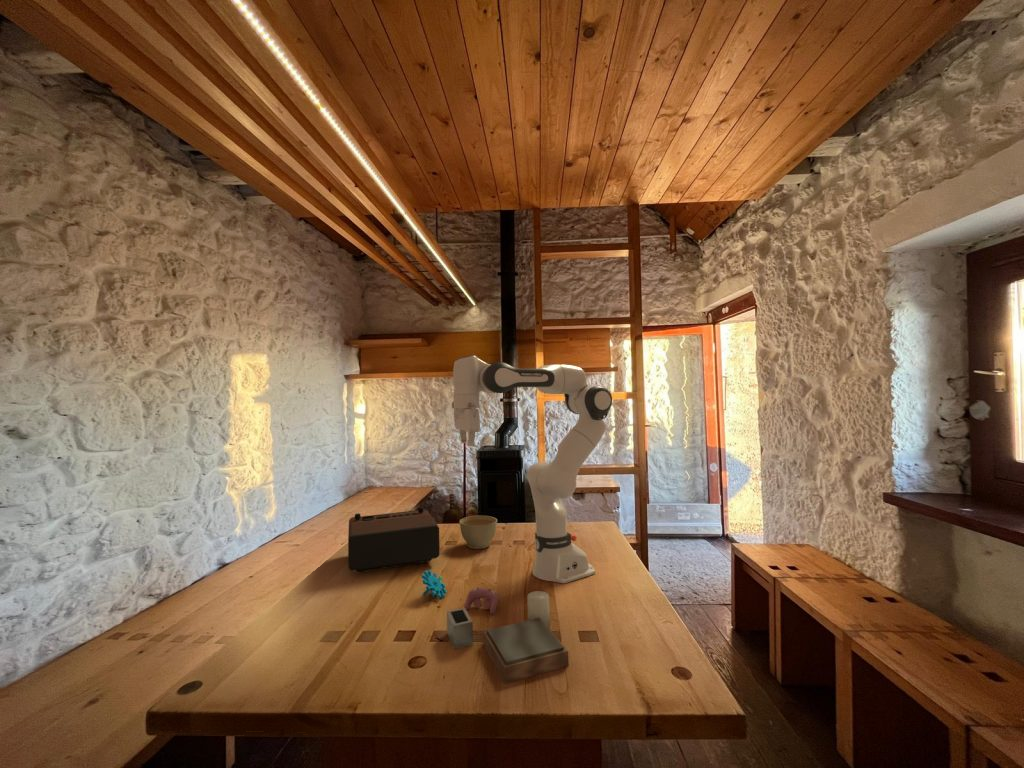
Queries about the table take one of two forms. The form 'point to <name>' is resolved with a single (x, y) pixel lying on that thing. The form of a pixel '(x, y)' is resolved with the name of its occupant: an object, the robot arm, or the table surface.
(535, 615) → the pale grey capsule
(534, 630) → the plinth
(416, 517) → the radio receiver
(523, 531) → the table surface
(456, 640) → the housing
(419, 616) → the table surface
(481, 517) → the planter bowl
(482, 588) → the video game controller
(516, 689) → the table surface
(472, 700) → the table surface
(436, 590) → the gear
